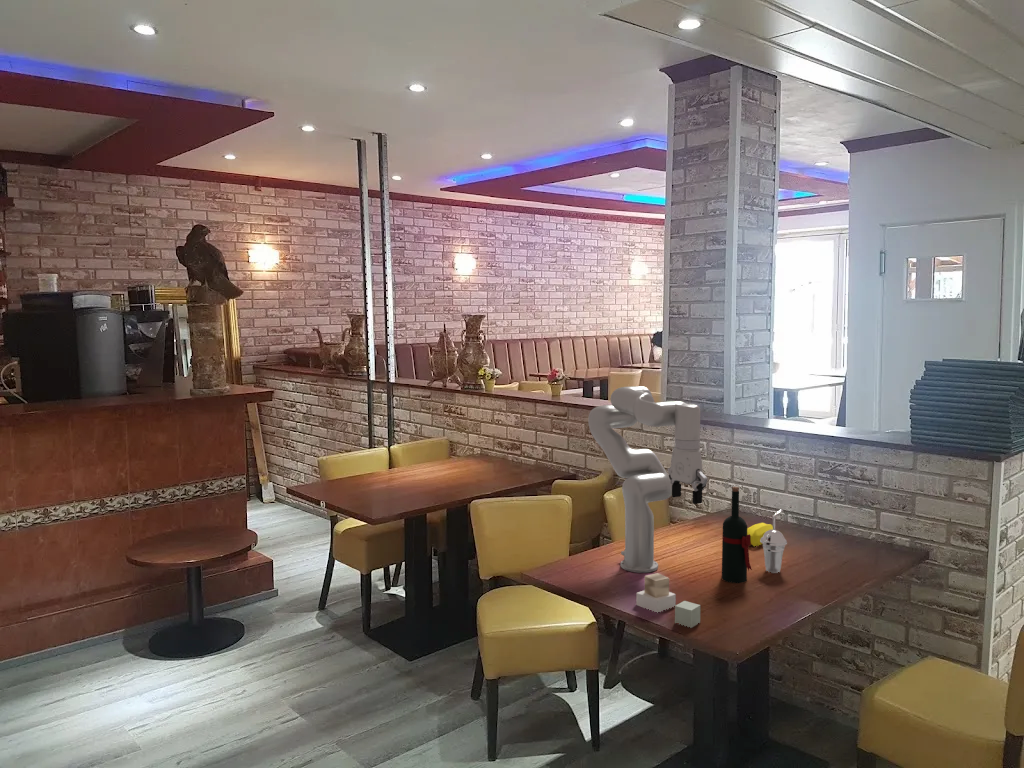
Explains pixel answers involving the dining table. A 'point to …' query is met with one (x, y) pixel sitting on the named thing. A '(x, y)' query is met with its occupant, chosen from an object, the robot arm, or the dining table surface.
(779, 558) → the cup with straw
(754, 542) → the yellow rounded lump
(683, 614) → the sage cube
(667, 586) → the maple cube
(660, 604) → the base block
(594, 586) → the dining table surface
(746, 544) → the wine bottle
